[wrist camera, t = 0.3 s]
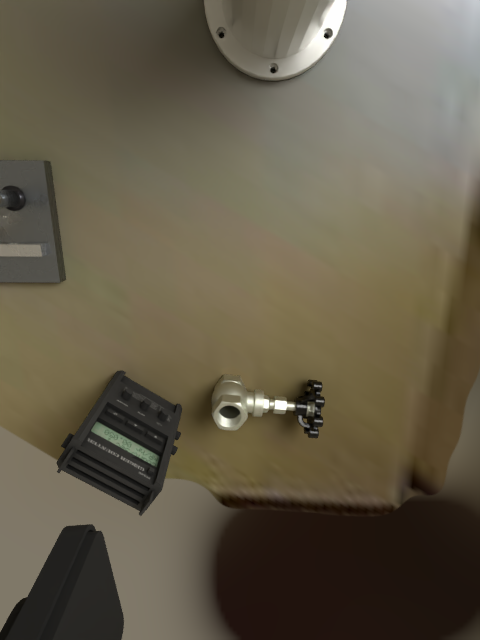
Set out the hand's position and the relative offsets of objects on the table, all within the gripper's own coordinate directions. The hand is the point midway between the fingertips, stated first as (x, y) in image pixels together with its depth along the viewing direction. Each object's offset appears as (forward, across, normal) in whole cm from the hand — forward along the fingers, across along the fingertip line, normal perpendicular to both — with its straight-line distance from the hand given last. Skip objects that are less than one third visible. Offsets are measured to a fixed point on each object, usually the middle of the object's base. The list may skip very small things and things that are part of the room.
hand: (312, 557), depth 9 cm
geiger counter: (+36, +14, +15) cm, 42 cm away
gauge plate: (+36, +31, -8) cm, 48 cm away
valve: (+36, 0, +15) cm, 39 cm away
